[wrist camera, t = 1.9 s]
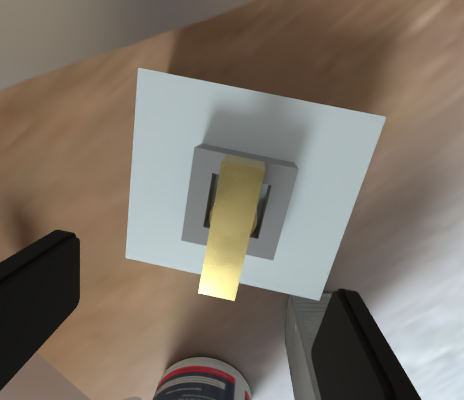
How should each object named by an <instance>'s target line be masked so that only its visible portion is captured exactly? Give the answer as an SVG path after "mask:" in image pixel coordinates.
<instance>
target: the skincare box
mask: <svg viewBox="0 0 464 400" xmlns="http://www.w3.org/2000/svg"><path fill="white" fill-rule="evenodd" d="M331 295H332V293H322V295H321V298H320V300H319V301H318V300H313V299H309V298H304V297H300V296H295V295H291V294H289V297H288V305H287V314H286V326H285V345H286V351H287V357H288V362H289V368H290V375H291V381H292V386H293V392H294V398H295V400H321V396H320V392H319V388H318V384H317V379H316V375H315V371H314V367H313V363H312V358H311V349H312V345H313V343H314V340H315V337H316V335H317V332H318V329H319V327H320V324H321V322H322V319H323V316H324V314H325V311H326V308H327V306H328V303H329V300H330V298H331Z"/></svg>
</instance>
